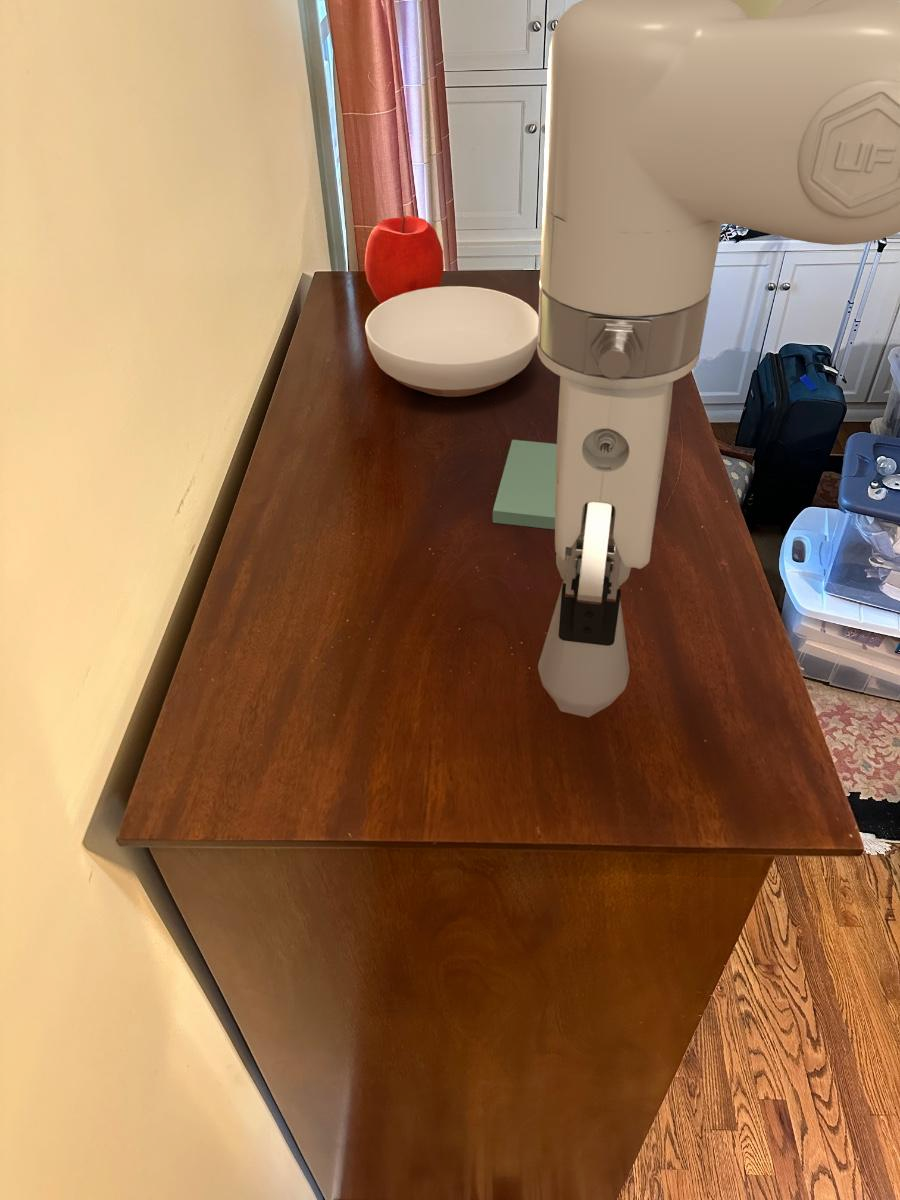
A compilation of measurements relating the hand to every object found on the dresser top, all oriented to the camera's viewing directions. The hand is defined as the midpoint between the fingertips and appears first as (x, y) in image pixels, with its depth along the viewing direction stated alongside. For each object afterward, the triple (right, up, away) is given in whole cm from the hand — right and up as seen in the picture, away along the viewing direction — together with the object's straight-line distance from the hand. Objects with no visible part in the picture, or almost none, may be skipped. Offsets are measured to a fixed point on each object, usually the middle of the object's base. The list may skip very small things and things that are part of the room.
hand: (589, 608), depth 52 cm
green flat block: (+4, +11, +30) cm, 32 cm away
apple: (-14, +37, +59) cm, 71 cm away
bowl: (-8, +27, +48) cm, 55 cm away
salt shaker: (0, -6, +5) cm, 8 cm away
